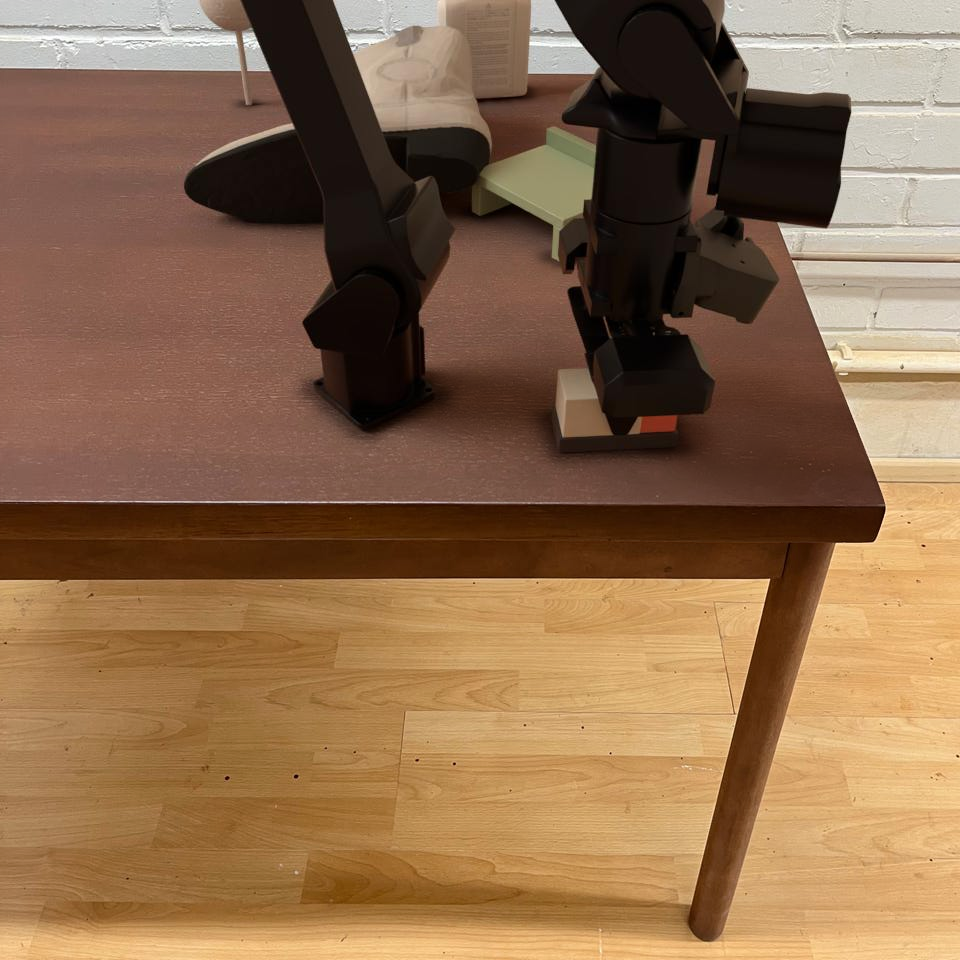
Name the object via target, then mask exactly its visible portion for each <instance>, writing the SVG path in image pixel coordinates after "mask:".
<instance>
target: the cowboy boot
mask: <svg viewBox="0 0 960 960" xmlns="http://www.w3.org/2000/svg"><path fill="white" fill-rule="evenodd" d="M353 55H354V58H355V60H356V63H357V66H358V68H359V71H360V74H361V76H362V79H363V82H364V84H365V87H366V90H367V92H368V95H369V98H370V101H371V103H372V106H373V109H374V111H375V114H376V117H377V119H378V122H379V125H380V127H381V130H382V133H383V135H384V138H385V141H386V143H387V146H388V149H389V151H390V154H391V156H392V158H393V160H394V161H395V163H396V164H397V165H398V166H399V167H400V168H401V169H402V170H403V171H404V172H405V173H406V174H407V175H408V176H409V177H410V178H411V179H412V180H413V181H414V182H417V181H419V180H422V179H424V178H427V177H429V176H433V177H434V178H435V181H436V183H437V185H438V190H439V194H447V193H448V194H451V193H458V192H462V191H465V190H468V189H470V188H472V186H473V185H474V183H475V182H476V181H477V179H478V177H479V174H480V173H481V171H482V170H483V168H484V167H485V166H487V165H490V159H491V155H492V150H493V140H492V134H491V130H490V128H489V125H488V124H487V122H486V121H485V119H484V118H483V117H482V115H481V113H480V108H479V105H478V100H477V99H475V97H474V94H473V78H472V57H471V50H470V45H469V42H468V40H467V39H466V37H465V36H464V35H463V34H462V33H461V32H460V31H459V30H457V29H455V28H452V27H448V26H438V25H437V26H422V25H411V26H408V27H405V28H402V29H401V30H399V31H398V32H397V33H395V35H394V36H392V37H390V38H387V39H384V40H381V41H378V42H375V43H373V44H371V45H369V46H366V47H364V48H362V49H360V50H358V51H356V52H353ZM183 189H184V191H185V192H184V194H185V195H186V196H187V197H188V198H189V200H190V201H193V202H194V203H195V204H198V205H200V206H203V207H205V208H207V209H210V210H213V211H216V212H219V213H222V214H225V215H228V216H232V217H235V218H237V219H238V218H239V219H243V220H246V221H250V222H255V223H259V224H270V225H271V224H275V225H276V224H277V225H307V224H308V225H309V224H322V223H323V224H324V212H323V197H322V193H321V190H320V187H319V185H318V182H317V180H316V178H315V175H314V173H313V171H312V168H311V166H310V164H309V161H308V159H307V157H306V154H305V152H304V149H303V147H302V145H301V142H300V140H299V138H298V135H297V133H296V131H295V128H294V126H293V124H292V122H291V123H287V124H282V125H279V126H277V127H273V128H270V129H267V130H264V131H261V132H258V133H255V134H252V135H249V136H245V137H242V138H239V139H237V140H234V141H231V142H229V143H227V144H225V145H223V146H221V147H219V148H217V149H215V150H214V151H212V152H210V153H208V154H207V155H206V156H205V157H203V158H202V159H201V160H200V161H199V162H198V163H196V164H195V165H194V166H193V167H192V168H191V169H190V170H189V171H188V173H187V174H186V176H185V178H184V181H183Z"/></svg>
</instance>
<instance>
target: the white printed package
mask: <svg viewBox="0 0 960 960" xmlns="http://www.w3.org/2000/svg"><path fill="white" fill-rule="evenodd" d="M531 19H532V0H438V1H437V26H448V27H452V28H455V29H457V30H459V31H460V32H461V33H462V34H463V35H464V36H465V37H466V39H467V40H468V42H469V45H470V50H471V57H472V78H473V94H474V97H475V99H476V100H477V99H492V98H493V99H494V98H508V97H509V98H511V97H521V96H523V97H524V96H525V95H526V94H527V92H528V78H529V77H528V75H529V59H530V58H529V57H530V41H531V40H530V39H531V21H532V20H531Z"/></svg>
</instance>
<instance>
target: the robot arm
mask: <svg viewBox="0 0 960 960" xmlns="http://www.w3.org/2000/svg"><path fill="white" fill-rule="evenodd" d="M240 1H241V3H242V6H243V8H244V10H245V13H246V15H247V18H248V20H249V22H250V25H251V27H252V28H251V29H252V31H253V34H254V36H255V39H256V41H257V44H258V46H259V48H260V50H261V53H262V55H263V58H264V60H265V62H266V64H267V67H268V69H269V72H270V74H271V77H272V79H273V81H274V84H275V86H276V88H277V90H278V93H279V95H280V98H281V100H282V102H283V105H284V107H285V109H286V111H287V112H286V113H287V114H288V116H289V119H290V121H291V123H292V124H293V126H294V128H295V131H296V133H297V135H298V138H299V140H300V142H301V145H302V147H303V149H304V152H305V154H306V157H307V159H308V161H309V164H310V166H311V168H312V171H313V173H314V175H315V178H316V180H317V182H318V185H319V187H320V190H321V193H322V197H323V212H324V223H323V246H324V247H323V249H324V250H323V251H324V255H325V258H326V259H325V260H326V263H327V266H328V270H329V275H330V278H331V280H330V282H329V283H328V284H327V286H326V287H325V288H324V290H323V291H322V293H321V294H320V296H319V297H318V298H317V299H316V301H315V303H314V304H313V305H312V307H311V308H310V310H309V311H308V312H307V314H306V315H305V317H304V318H303V319H302V322H301V323H302V326H303V329H304V330H305V332H306V334H307V336H308V338H309V340H310V342H311V344H312V346H313V347H314V349H317V350H320V351H319V352H320V359H321V367H322V368H321V369H322V376H323V377H321V378H320V377H319V378H318V379H316V380H314V381H313V382H312V385H313V386H312V388H313V391H314V392H316V393H317V394H318V395H319V396H320V397H321V398H323V399H324V400H325V401H326V402H328V404H330V405H331V406H332V407H333V408H334V409H335V410H337V411H338V412H339V413H340V414H341V415H342V416H344V417H345V418H346V419H347V420H348V421H349V422H351V423H352V424H353V425H354V426H355V427H357V428H358V429H359V430H362V431H367V430H370V429H373V428H374V427H376V426H378V425H380V424H382V423H385V422H386V421H389V420H390V419H392V418H394V417H397V416H398V415H400V414H403V413H404V412H407V411H409V410H410V409H413V408H415V407H417V406H419V405H421V404H423V403H425V402H427V401H429V400H431V399H433V398H434V397H436V388H435V387H434V386H433V385H431V384H430V383H429V382H427V381H426V380H425V379H423V377H425V375H426V371H427V370H426V347H425V346H426V345H425V344H426V343H425V342H426V341H425V328H424V326H422V325H421V324H420V311H421V309H422V308H423V306H424V304H425V302H426V301H427V299H428V297H429V295H430V294H431V292H432V290H433V288H434V286H435V285H436V283H437V281H438V279H439V278H440V276H441V274H442V273H443V270H444V269H445V267H446V265H447V264H448V261H449V258H450V256H451V243H450V240H451V239H452V237H453V235H454V233H455V231H456V228H455V226H454V225H453V223H452V222H451V221H450V219H449V218H448V217H447V215H446V213H445V211H444V209H443V205H442V201H441V197H440V193H439V190H438V185H437V183H436V181H435V178H434V177H433V176H429V177H427V178H424V179H422V180H419V181H417V182H414V181H413V180H412V179H411V178H410V177H409V176H408V175H407V174H406V173H405V172H404V171H403V170H402V169H401V168H400V167H399V166H398V165H397V164H396V163H395V161H394V160H393V158H392V156H391V154H390V151H389V149H388V146H387V143H386V141H385V138H384V135H383V133H382V130H381V127H380V125H379V122H378V119H377V117H376V114H375V111H374V109H373V106H372V103H371V101H370V98H369V95H368V92H367V90H366V87H365V84H364V82H363V79H362V76H361V74H360V71H359V68H358V66H357V63H356V60H355V58H354V55H353V54H354V52H353V50H352V47H351V44H350V42H349V39H348V36H347V33H346V31H345V29H344V26H343V23H342V20H341V17H340V15H339V12H338V9H337V7H336V4H335V2H334V0H240ZM554 3H555V4H556V6H557V8H558V9H559V11H560V13H561V14H562V16H563V18H564V20H565V22H566V23H567V25H568V27H569V29H570V30H571V32H572V34H573V35H574V38H576V40H577V41H578V42H579V43H580V44H581V46H582V47H583V48H584V49H585V51H586V52H587V53H588V54H589V55H590V57H591V58H592V60H594V61H595V63H596V64H597V65H598V66H599V67H597V68H596V69H595V72H594V73H593V75H592V76H591V78H590V79H589V80H587V81H586V82H585V83H583V84H582V85H580V86H579V87H577V88H575V89H574V90H573V91H572V93H571V95H570V98H569V99H568V101H567V103H566V105H565V107H564V109H563V112H562V113H561V117H560V118H561V121H562V122H563V123H564V124H565V125H567V126H574V127H575V126H576V127H585V128H593V129H597V133H596V144H595V145H596V154H595V165H594V177H593V188H592V198H591V199H590V200H584V206H583V217H584V218H574V219H572V220H571V221H570V222H569V223H568V224H567V225H566V226H565V227H563V228H562V229H561V230H560V231H559V245H558V258H559V261H560V262H559V261H558V262H559V264H560V269H561V273H562V275H572V274H573V273H574V271H575V265H576V270H577V278H578V281H579V284H580V285H576V286H575V285H574V286H571V287H569V288H567V290H566V294H567V298H568V301H569V305H570V308H571V312H572V315H573V318H574V321H575V324H576V327H577V329H578V332H579V336H580V338H581V341H582V344H583V347H584V350H585V353H584V358H585V363H586V365H587V368H588V370H589V373H590V377H591V380H592V382H593V384H594V387H595V390H596V393H597V397H598V400H599V404H600V407H601V411H602V413H604V414H605V416H606V419H607V421H608V424H609V427H610V430H611V432H612V434H613V435H626V434H628V433H629V432H630V430H631V429H632V427H633V425H634V423H635V422H636V420H637V418H638V417H648V416H670V415H677V416H688V415H690V416H691V415H704V414H705V413H706V412H707V411H708V410H709V409H710V408H711V405H712V399H713V394H714V390H715V385H716V379H715V377H714V374H713V372H712V370H711V368H710V366H709V363H708V361H707V358H706V356H705V354H704V352H703V349H702V347H701V346H700V345H699V344H698V343H697V342H696V341H695V340H694V339H693V338H692V337H691V336H690V335H689V334H688V333H686V334H685V333H683V334H682V333H681V332H680V330H679V329H678V328H675V327H673V326H668V325H667V324H666V322H665V319H664V315H670V317H671V318H672V319H690V318H693V313H694V307H695V306H697V307H699V308H700V309H704V310H708V311H711V312H714V313H718V314H721V315H723V316H728V317H731V318H734V319H735V321H736V322H738V323H740V324H745V325H751V324H753V323H754V321H755V320H756V319H757V317H758V315H759V314H760V312H761V310H762V309H763V308H764V306H765V304H766V303H767V301H768V299H769V298H770V296H771V295H772V293H773V291H774V290H775V288H776V287H777V285H778V283H779V282H780V277H779V275H778V273H777V272H776V270H775V268H774V266H773V265H772V263H771V261H770V260H769V258H768V256H767V255H766V253H765V251H764V250H763V249H762V248H761V247H760V246H758V245H756V243H755V242H754V240H753V238H752V237H748V236H746V237H745V238H744V234H745V223H744V221H743V219H746V220H755V221H763V222H770V223H777V224H785V225H794V226H801V227H802V226H803V227H810V228H818V229H826V230H827V229H828V228H829V226H830V223H831V221H832V218H833V216H834V212H835V209H836V207H837V206H836V205H837V203H838V198H839V195H840V191H841V186H842V163H843V157H844V151H845V145H846V138H847V133H848V129H849V128H848V127H849V124H850V119H851V115H852V98H851V96H850V95H849V94H848V93H840V92H839V93H837V92H829V91H828V92H827V91H826V92H817V93H799V92H791V91H790V92H789V91H780V90H770V89H760V88H751V87H748V81H749V76H750V71H749V69H748V67H747V66H746V64H745V61H744V60H743V58H742V55H741V54H740V52H739V50H738V47H737V46H736V45H735V43H734V41H733V39H732V36H731V35H730V33H729V31H728V29H727V28H726V25H725V23H724V22H723V20H724V17H725V16H724V15H725V11H726V10H725V9H726V8H725V6H726V5H725V0H554ZM704 140H705V141H714V147H713V153H712V158H711V164H710V169H709V175H708V180H707V181H708V182H707V187H706V196H714V197H716V200H715V201H716V202H715V206H713V208H711V209H710V210H709V211H707V212H706V213H705V214H704V215H702V216H701V217H700V218H698V220H695V222H694V224H693V223H692V220H691V214H692V208H693V204H694V203H693V202H694V196H695V190H696V185H697V178H698V171H699V167H700V159H701V153H702V146H703V141H704ZM716 195H717V196H716ZM576 258H585V260H578V262H577V264H576Z"/></svg>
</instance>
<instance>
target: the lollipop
mask: <svg viewBox="0 0 960 960" xmlns="http://www.w3.org/2000/svg"><path fill="white" fill-rule="evenodd" d="M198 2H199V6H200V9H201V10H202V12H203V14H204V15H205V16H206V17H207V19H208V20H209V21H210V22H212V23H213V24H214V25H216V26H217V27H219V28H221V29H222V30H225V31H229V32H235V38H236V45H237V52H238V59H239V66H240V72H241V78H242V87H243V93H244V100H245V105H246V106H252V105H253V100H252V99H253V98H252V92H251V86H250V85H251V84H250V79H249V71H248V65H247V57H246V50H245V43H244V37H243V32H244V31H247V30H250V29H252V27H251V25H250V22H249V20H248V18H247V15H246V13H245V10H244V8H243V6H242V3H241V1H240V0H198Z"/></svg>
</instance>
